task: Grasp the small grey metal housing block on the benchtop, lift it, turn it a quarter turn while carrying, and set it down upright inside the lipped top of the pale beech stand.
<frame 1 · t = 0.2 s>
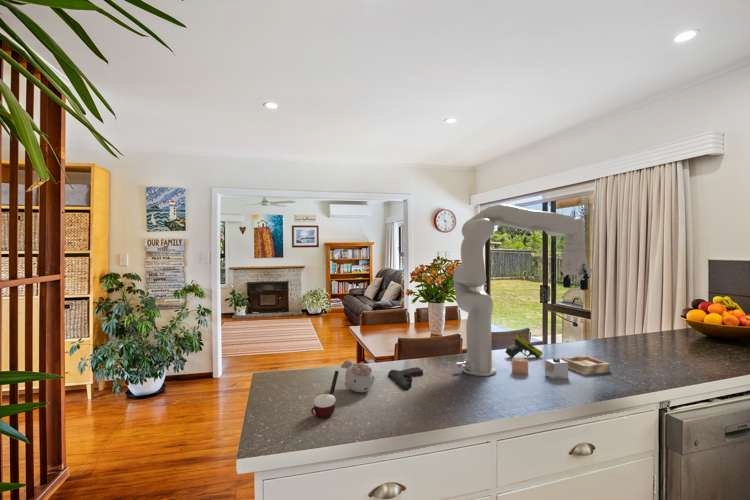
hand: (575, 288, 163), 31 cm above the counter, tool pointing down, fingers open, 9 cm apart
tan square block: (520, 373, 150), on the counter
stand: (585, 368, 154), on the counter
cocoa: (325, 416, 115), on the counter
housing: (556, 377, 145), on the counter
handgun: (411, 381, 144), on the counter
toy: (356, 389, 137), on the counter
toy gun: (524, 358, 171), on the counter
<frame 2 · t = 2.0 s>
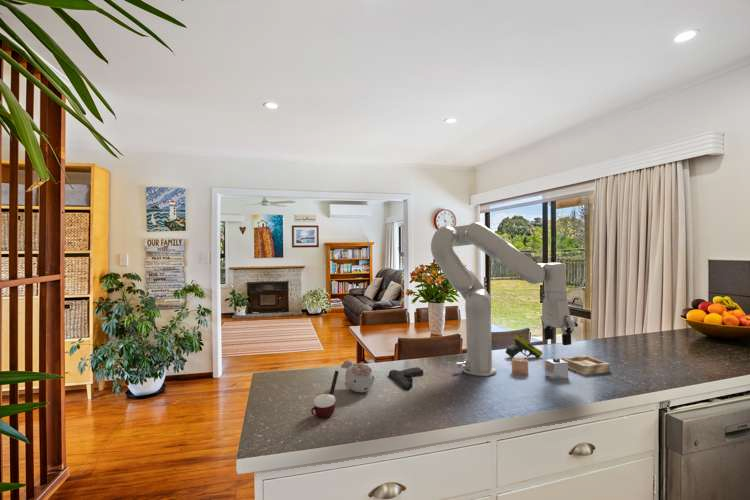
hand: (557, 341, 145), 13 cm above the counter, tool pointing down, fingers open, 9 cm apart
nothing on the counter moved.
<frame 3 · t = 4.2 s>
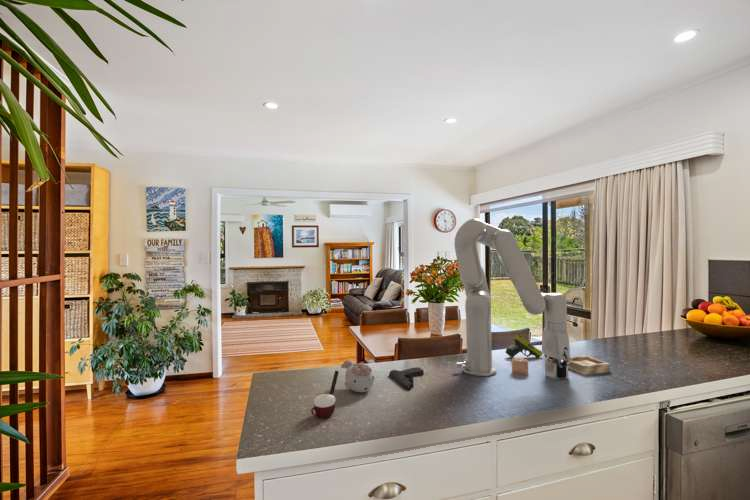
hand: (556, 374, 145), 1 cm above the counter, tool pointing down, fingers closed on housing, 5 cm apart
housing: (556, 376, 145), on the counter, touching gripper
everything else where it was.
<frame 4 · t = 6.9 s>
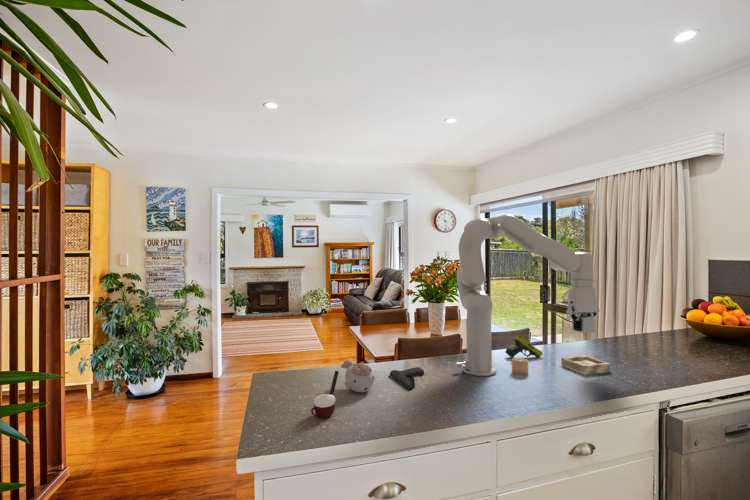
hand: (583, 329, 153), 16 cm above the counter, tool pointing down, fingers closed on housing, 5 cm apart
housing: (583, 331, 153), point 15 cm above the counter, touching gripper
everything else where it was.
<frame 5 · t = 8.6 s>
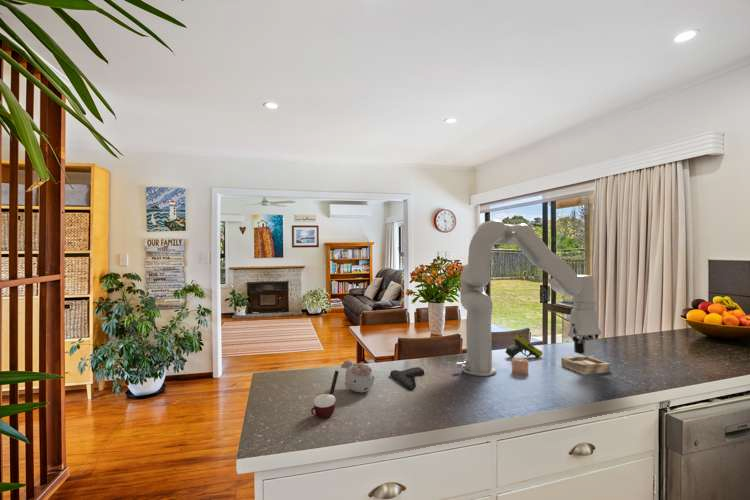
hand: (585, 351, 154), 7 cm above the counter, tool pointing down, fingers closed on housing, 5 cm apart
housing: (585, 353, 154), point 6 cm above the counter, touching gripper
everything else where it was.
when the fingers open (4 cm above the counter, at t = 10.0 s): housing stays where it is, resting on stand.
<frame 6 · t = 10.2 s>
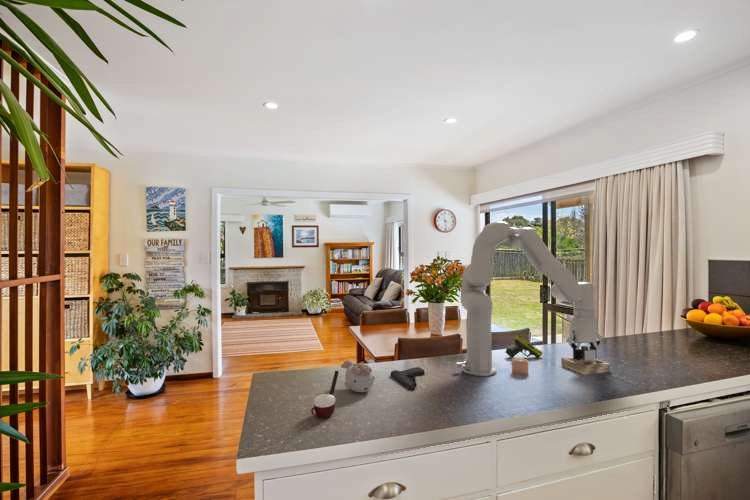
hand: (584, 358, 154), 4 cm above the counter, tool pointing down, fingers open, 6 cm apart
housing: (584, 363, 154), point 2 cm above the counter, touching stand
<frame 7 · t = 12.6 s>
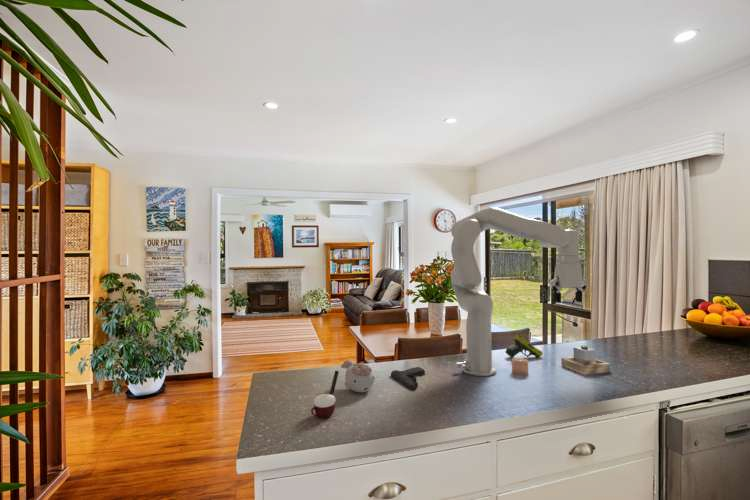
hand: (568, 302, 158), 26 cm above the counter, tool pointing down, fingers open, 9 cm apart
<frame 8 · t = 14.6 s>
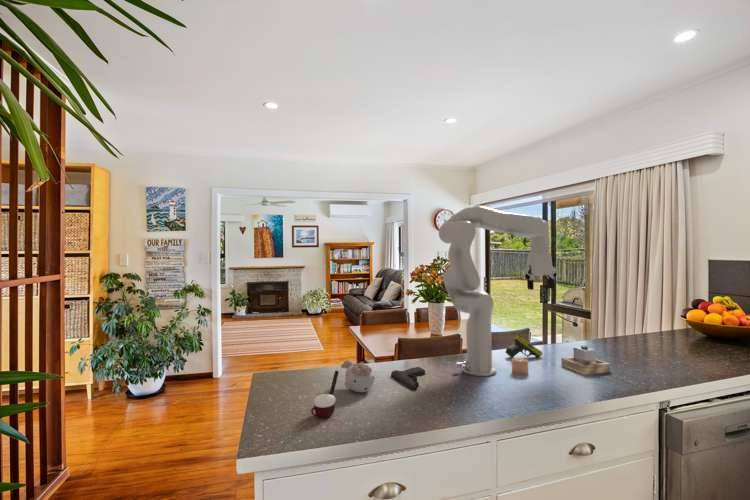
hand: (540, 288, 169), 30 cm above the counter, tool pointing down, fingers open, 9 cm apart
at the end: housing inside the target area on the stand (0.2 cm from its centre), point 2.0 cm above the stand's base; housing tilted 0°; the gripper is holding nothing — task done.
